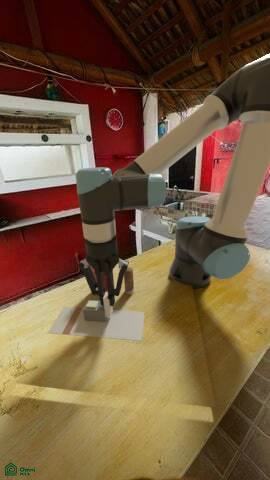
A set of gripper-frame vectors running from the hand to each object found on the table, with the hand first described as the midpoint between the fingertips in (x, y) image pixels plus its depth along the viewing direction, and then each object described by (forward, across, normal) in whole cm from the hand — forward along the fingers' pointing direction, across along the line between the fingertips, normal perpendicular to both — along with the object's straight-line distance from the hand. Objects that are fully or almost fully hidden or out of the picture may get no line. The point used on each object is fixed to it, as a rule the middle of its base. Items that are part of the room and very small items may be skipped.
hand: (109, 313), depth 59 cm
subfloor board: (+3, +3, +2) cm, 4 cm away
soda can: (+3, +5, -12) cm, 13 cm away
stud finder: (+1, +4, 0) cm, 4 cm away
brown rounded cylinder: (+3, -4, -12) cm, 13 cm away
